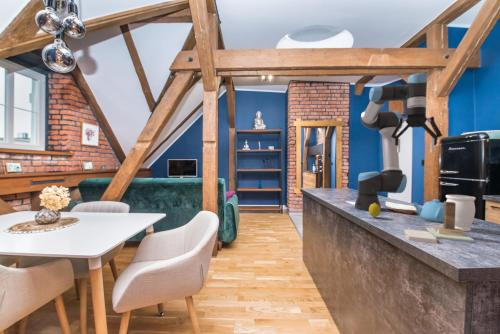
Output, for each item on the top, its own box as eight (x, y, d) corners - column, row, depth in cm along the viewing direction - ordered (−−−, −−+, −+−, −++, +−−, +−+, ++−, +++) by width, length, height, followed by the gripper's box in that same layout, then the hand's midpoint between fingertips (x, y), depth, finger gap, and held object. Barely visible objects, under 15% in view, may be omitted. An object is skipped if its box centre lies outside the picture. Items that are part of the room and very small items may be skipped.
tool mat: (426, 229, 113) (426, 227, 113) (459, 232, 108) (459, 230, 108) (436, 238, 100) (436, 236, 100) (474, 242, 95) (474, 240, 95)
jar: (480, 233, 108) (481, 198, 107) (452, 231, 110) (454, 197, 109) (464, 226, 118) (465, 194, 117) (439, 225, 120) (440, 194, 120)
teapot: (440, 225, 121) (441, 202, 120) (411, 217, 135) (411, 198, 134) (461, 222, 126) (462, 201, 125) (430, 215, 140) (431, 196, 139)
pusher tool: (435, 230, 108) (436, 200, 107) (458, 232, 105) (459, 202, 104) (438, 233, 103) (439, 202, 103) (463, 236, 100) (464, 204, 100)
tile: (403, 229, 107) (408, 236, 97) (429, 231, 104) (436, 239, 94) (403, 233, 107) (408, 241, 97) (428, 236, 104) (436, 244, 94)
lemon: (370, 218, 132) (371, 203, 131) (367, 216, 137) (367, 201, 137) (381, 219, 131) (382, 204, 131) (377, 216, 136) (378, 202, 136)
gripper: (387, 107, 120) (386, 152, 121) (451, 104, 111) (449, 152, 111) (385, 110, 127) (384, 152, 128) (445, 107, 117) (444, 152, 118)
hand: (414, 152), depth 119 cm, fingers open, 13 cm apart
